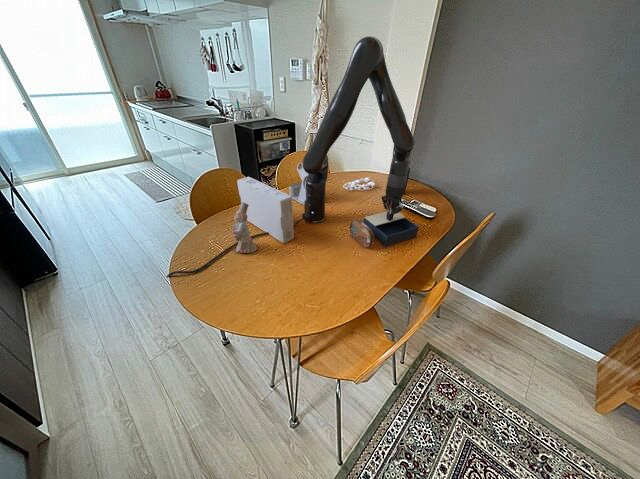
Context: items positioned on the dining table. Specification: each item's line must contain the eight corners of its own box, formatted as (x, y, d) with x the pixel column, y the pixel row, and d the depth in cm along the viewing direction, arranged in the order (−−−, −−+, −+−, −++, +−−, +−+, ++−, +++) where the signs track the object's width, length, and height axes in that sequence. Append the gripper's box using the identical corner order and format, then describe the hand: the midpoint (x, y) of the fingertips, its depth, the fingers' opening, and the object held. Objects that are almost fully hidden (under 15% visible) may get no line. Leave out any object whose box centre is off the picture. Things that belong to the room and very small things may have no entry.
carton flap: (375, 226, 112) (375, 225, 112) (364, 217, 118) (364, 217, 117) (405, 217, 118) (406, 216, 118) (394, 209, 124) (394, 209, 124)
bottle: (395, 189, 158) (402, 157, 147) (406, 192, 155) (413, 159, 144) (391, 193, 154) (397, 159, 142) (402, 196, 151) (409, 162, 139)
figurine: (256, 241, 110) (250, 199, 99) (257, 253, 104) (250, 209, 92) (235, 244, 109) (226, 201, 97) (234, 256, 102) (224, 212, 91)
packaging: (294, 237, 113) (292, 196, 102) (283, 243, 110) (280, 201, 98) (253, 214, 130) (248, 176, 119) (243, 218, 127) (236, 179, 115)
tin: (348, 233, 117) (350, 217, 112) (354, 231, 118) (356, 215, 114) (368, 251, 106) (370, 234, 101) (374, 249, 107) (377, 232, 103)
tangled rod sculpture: (348, 195, 152) (349, 189, 150) (340, 184, 163) (340, 178, 160) (378, 191, 157) (379, 185, 154) (367, 180, 167) (368, 175, 165)
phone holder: (287, 196, 148) (285, 165, 138) (301, 191, 154) (300, 161, 144) (306, 206, 138) (306, 174, 128) (320, 201, 144) (321, 169, 133)
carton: (385, 247, 109) (387, 236, 106) (362, 228, 121) (364, 218, 118) (416, 236, 116) (419, 226, 113) (392, 220, 128) (394, 210, 125)
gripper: (414, 187, 103) (405, 224, 113) (392, 176, 112) (386, 211, 122) (400, 191, 100) (392, 228, 110) (379, 179, 109) (373, 215, 119)
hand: (389, 219), depth 116 cm, fingers closed
